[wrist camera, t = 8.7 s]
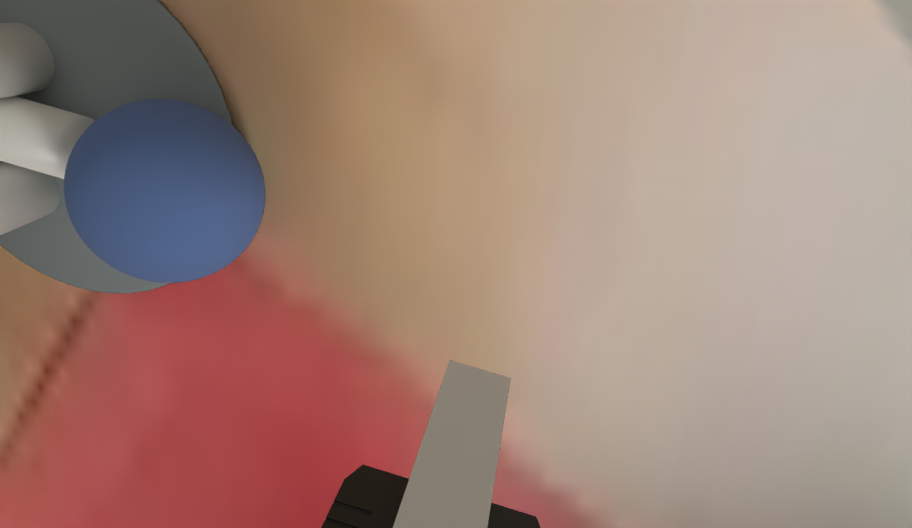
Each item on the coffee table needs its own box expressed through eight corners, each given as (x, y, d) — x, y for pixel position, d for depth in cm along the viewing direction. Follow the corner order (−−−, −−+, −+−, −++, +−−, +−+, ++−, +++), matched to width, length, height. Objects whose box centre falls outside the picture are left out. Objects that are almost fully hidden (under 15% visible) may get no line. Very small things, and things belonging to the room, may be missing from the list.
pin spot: (253, -1, 21) (250, -1, 21) (225, 327, 26) (222, 329, 26) (-107, -97, 21) (-113, -97, 21) (-62, 243, 27) (-66, 245, 27)
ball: (89, 68, 21) (274, 92, 23) (102, 228, 24) (266, 240, 25) (18, 116, 16) (262, 143, 18) (44, 313, 19) (255, 322, 20)
